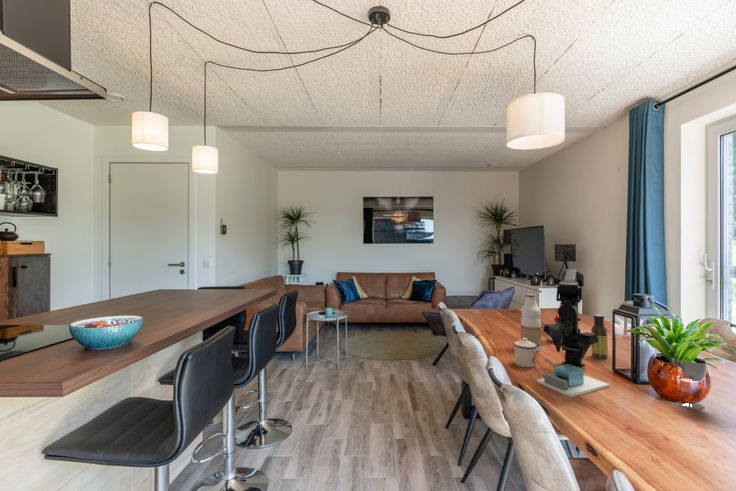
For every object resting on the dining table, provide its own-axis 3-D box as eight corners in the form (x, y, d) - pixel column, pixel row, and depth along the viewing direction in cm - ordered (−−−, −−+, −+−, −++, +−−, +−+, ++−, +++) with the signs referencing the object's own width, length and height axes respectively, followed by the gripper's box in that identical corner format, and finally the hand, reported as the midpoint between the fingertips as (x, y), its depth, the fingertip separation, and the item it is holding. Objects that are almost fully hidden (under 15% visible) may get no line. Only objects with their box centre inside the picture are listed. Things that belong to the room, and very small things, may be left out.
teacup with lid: (537, 369, 141) (537, 342, 141) (514, 366, 144) (513, 339, 144) (535, 360, 152) (535, 335, 152) (514, 357, 155) (513, 333, 155)
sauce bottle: (594, 353, 160) (593, 313, 160) (609, 357, 155) (609, 315, 155) (589, 356, 156) (589, 314, 156) (605, 360, 151) (604, 317, 151)
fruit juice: (529, 352, 163) (529, 296, 163) (517, 346, 172) (516, 293, 172) (545, 350, 165) (545, 295, 165) (532, 345, 174) (532, 292, 174)
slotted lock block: (568, 378, 129) (568, 364, 129) (583, 383, 123) (583, 369, 123) (554, 381, 125) (553, 367, 125) (568, 387, 120) (568, 372, 120)
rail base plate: (573, 373, 135) (573, 364, 135) (609, 386, 123) (609, 376, 123) (536, 382, 127) (536, 371, 127) (571, 397, 114) (571, 385, 114)
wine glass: (700, 412, 103) (700, 364, 104) (668, 402, 111) (668, 357, 111) (710, 406, 107) (710, 360, 107) (679, 396, 114) (678, 353, 114)
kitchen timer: (541, 339, 186) (541, 312, 186) (563, 338, 188) (563, 312, 188) (558, 346, 172) (558, 318, 173) (582, 345, 174) (582, 317, 174)
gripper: (533, 312, 132) (533, 351, 132) (578, 322, 115) (579, 367, 115) (552, 309, 136) (553, 347, 137) (599, 319, 119) (599, 362, 119)
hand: (569, 355), depth 127 cm, fingers open, 9 cm apart
